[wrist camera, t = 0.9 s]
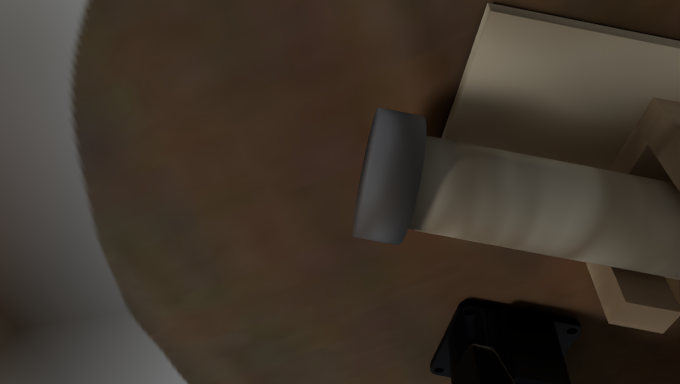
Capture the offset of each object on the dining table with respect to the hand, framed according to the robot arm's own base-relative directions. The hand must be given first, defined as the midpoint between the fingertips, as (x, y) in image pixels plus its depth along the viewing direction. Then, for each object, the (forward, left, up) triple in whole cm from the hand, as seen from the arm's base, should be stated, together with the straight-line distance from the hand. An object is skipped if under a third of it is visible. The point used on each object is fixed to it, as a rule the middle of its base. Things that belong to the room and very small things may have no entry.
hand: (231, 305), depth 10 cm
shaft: (-2, -10, -11) cm, 15 cm away
